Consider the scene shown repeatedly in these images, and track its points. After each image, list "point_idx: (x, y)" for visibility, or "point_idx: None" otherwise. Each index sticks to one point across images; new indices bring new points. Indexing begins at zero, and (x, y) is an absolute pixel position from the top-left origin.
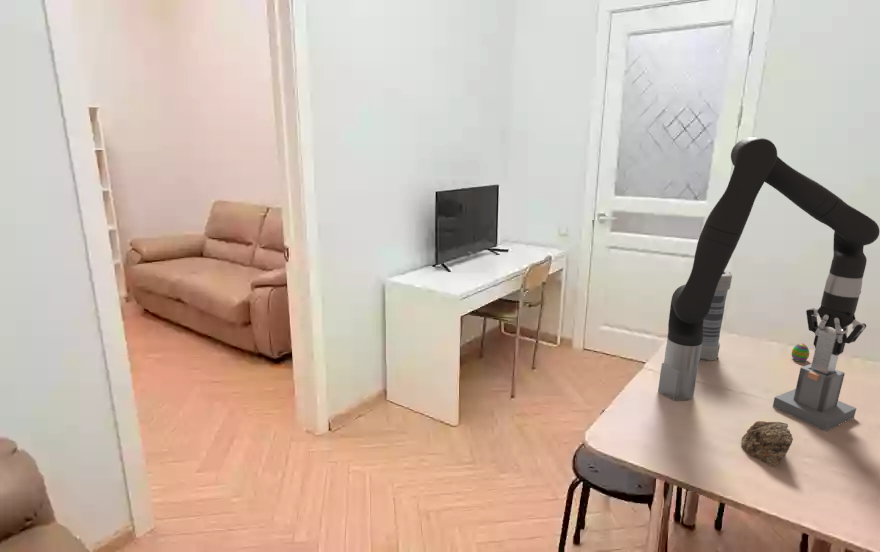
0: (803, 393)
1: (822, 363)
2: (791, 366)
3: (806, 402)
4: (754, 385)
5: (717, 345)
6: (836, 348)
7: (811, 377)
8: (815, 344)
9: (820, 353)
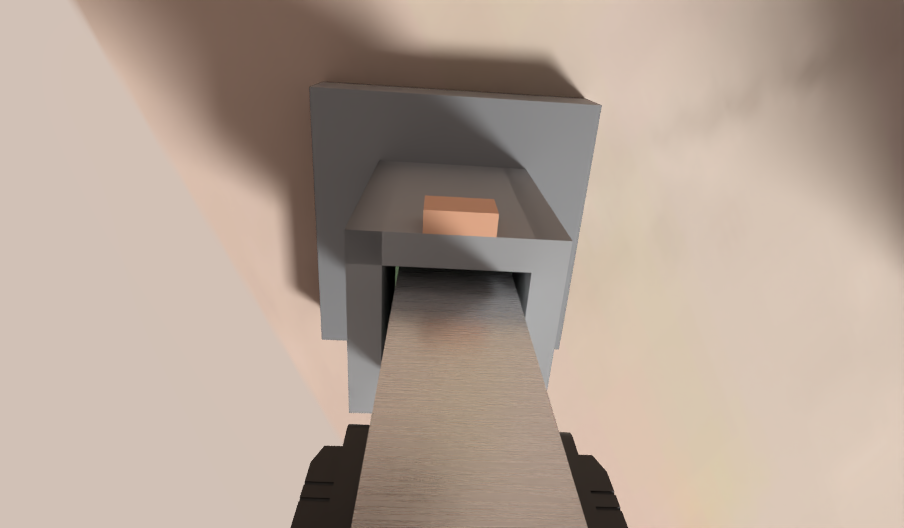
0: (489, 182)
1: (441, 322)
2: (671, 510)
3: (460, 169)
4: (727, 234)
5: None
6: (343, 486)
7: (465, 200)
8: (578, 460)
9: (483, 377)
